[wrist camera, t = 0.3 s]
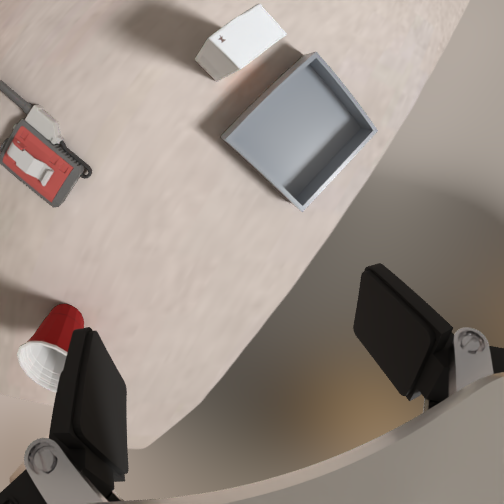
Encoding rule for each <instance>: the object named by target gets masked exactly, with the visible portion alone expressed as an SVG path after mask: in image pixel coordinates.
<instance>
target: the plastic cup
mask: <svg viewBox="0 0 504 504" xmlns="http://www.w3.org/2000/svg"><path fill="white" fill-rule="evenodd" d="M81 328H84V321H83V317H82V314H81V313H80V312H79V311H78V309H76V308H75V307H73V306H71V305H68V304H59V305H57V306H56V307H54V308H53V309H52V310H51V312H50V313H49V315H48V316H47V317H46V318H45V319H44V321H43V322H42V324H41V325H40V326H39V328H38V329H37V331H36V332H35V334H34V335H33V336H32V337H31V338H30V340H28V341H27V342H26V343H25V344H23V345H21V346H20V348H19V350H18V353H17V357H18V361H19V364H20V366H21V367H22V369H23V370H24V372H25V373H26V374H27V375H28V376H29V377H30V378H31V379H32V380H33V381H34V382H36V383H37V384H39V385H40V386H42V387H44V388H46V389H47V390H50V391H53V392H57V387H58V382H59V378H60V374H61V372H62V371H63V369H64V364H65V360H66V356H67V352H68V348H69V344H70V341H71V337H72V333H73V331H74V330H75V329H81Z"/></svg>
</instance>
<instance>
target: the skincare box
mask: <svg viewBox="0 0 504 504" xmlns="http://www.w3.org/2000/svg"><path fill="white" fill-rule="evenodd" d="M286 35H287V33H286V32H285V31H284V30H283V29H282V28H281V26H280V25H279V24H278V23H277V22H276V21H275V20H274V18H273V17H272V16H271V15H270V14H269V13H268V12H267V11H266V10H265V9H264V7H263V6H262V5H261V4H257V5H255V6H253V7H252V8H250V9H249V10H247V11H246V12H244V13H243V14H241V15H239V16H238V17H236V18H234V19H233V20H231V21H230V22H229V23H227V24H226V25H224V26H223V27H222V28H220V29H219V30H218V31H216V32H215V33H214V34H212V35H211V36H210V37H209V38H208V39H207V40H206V42H205V43H204V45H203V46H202V48H201V50H200V51H199V53H198V54H197V56H196V58H195V61H196V62H197V63H198V64H199V65H200V66H201V67H202V68H203V69H204V70H205V71H206V72H207V73H208V74H209V75H210V76H211V77H212V78H213V79H214V80H215V81H219V80H221V79H223V78H225V77H227V76H228V75H230V74H232V73H234V72H236V71H238V70H240V69H242V68H243V67H244V66H246V65H247V64H248V63H250V62H251V61H252V60H254V59H255V58H256V57H258V56H259V55H260V54H261V53H263V52H264V51H265V50H266V49H268V48H269V47H270V46H272V45H273V44H275V43H276V42H277V41H279V40H280V39H281V38H283V37H284V36H286Z"/></svg>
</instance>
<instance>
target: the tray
mask: <svg viewBox="0 0 504 504" xmlns="http://www.w3.org/2000/svg"><path fill="white" fill-rule="evenodd" d="M377 131H378V130H377V129H376V127H375V126H374V124H373V123H372V121H371V120H370V119H369V117H368V116H367V114H366V113H365V112H364V110H363V109H362V107H361V106H360V105H359V103H358V102H357V101H356V99H355V98H354V97H353V95H352V94H351V93H350V92H349V90H348V89H347V88H346V86H345V85H344V84H343V83H342V81H341V80H340V79H339V78H338V77H337V75H336V74H335V73H334V72H333V70H332V69H331V68H330V67H329V66H328V65H327V63H326V62H325V61H324V60H323V59H322V58H321V57H320V55H319V54H318V53H317V52H313V53H310V54H306V55H304V56H303V57H301V58H300V59H299V60H298V61H297V62H296V63H295V64H294V65H293V66H291V67H290V68H289V69H288V70H287V71H286V72H285V73H284V74H283V75H282V76H280V77H279V78H278V79H277V80H276V81H275V82H274V83H273V84H272V85H271V86H270V87H269V88H268V89H267V90H266V91H265V92H264V93H263V94H262V95H261V96H260V97H258V98H257V99H256V100H255V101H254V102H253V103H252V104H251V105H250V106H249V107H248V108H247V109H246V110H245V111H244V112H243V114H242V115H241V116H240V117H239V118H238V119H237V120H236V121H235V122H234V123H233V124H232V125H231V126H230V127H229V128H228V129H227V130H226V131H225V132H224V133H223V134H222V135H221V138H222V139H223V140H224V141H225V142H226V143H227V144H229V145H230V146H231V147H232V148H233V149H234V150H235V151H236V152H237V153H239V154H240V155H241V156H242V157H243V158H244V159H245V160H246V161H247V162H248V163H250V164H251V165H252V166H253V167H254V168H255V169H256V170H257V171H258V172H259V173H260V174H261V175H263V176H264V177H265V178H266V179H267V180H268V181H269V182H270V183H271V184H272V185H273V186H274V187H275V188H276V189H277V190H278V191H279V192H281V193H282V194H283V195H284V196H285V197H286V198H287V199H288V200H289V201H290V202H291V203H292V204H293V205H294V206H295V207H297V208H298V209H299V210H300V211H302V212H303V211H304V210H305V209H306V208H307V207H308V206H309V205H310V203H311V202H312V201H313V200H314V199H315V198H316V197H317V196H318V195H319V194H320V193H321V192H322V191H323V190H324V189H325V187H326V186H327V185H328V184H329V183H330V182H331V181H332V180H333V179H334V178H335V177H336V176H337V175H338V173H339V172H340V171H341V170H342V169H343V168H344V167H345V166H346V165H347V164H348V163H349V162H350V161H351V160H352V158H353V157H354V156H355V155H356V154H357V153H358V152H359V151H360V150H361V149H362V148H363V147H364V145H365V144H366V143H367V142H368V141H369V140H370V139H371V138H372V137H373V136H374V135H375V134H376V132H377Z"/></svg>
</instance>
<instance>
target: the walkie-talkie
mask: <svg viewBox="0 0 504 504" xmlns="http://www.w3.org/2000/svg"><path fill="white" fill-rule="evenodd" d="M0 90H1V91H2V92H3V93H4V94H5V95H7V96H8V97H9V98H10V99H11V100H12V101H13V102H15V103H16V104H17V105H18V106H19V107H20V108H22V109H23V112H24V113H26V114H27V117H26V118H25V119H24V118H22V119H21V120H20V121H19V123H18V124H15V125H14V126H13V132H12V134H11V136H10V138H7V139H6V140H5V141H4V142H3V144H2V145H1V148H0V151H1V152H2V153H1V155H0V164H1V165H3V166H4V167H5V168H6V169H7V170H8V171H9V172H11V173H12V174H13V175H14V176H15V177H16V178H18V179H19V180H20V181H22V182H23V183H24V184H26V186H28V187H29V188H30V189H32V191H34V192H35V193H36V194H37V195H39V196H40V197H41V198H43V200H45V201H46V202H47V203H49V205H51V206H53V207H59V206H60V205H61V204H62V203H63V202H64V201H65V199H66V197H67V196H68V194H69V193H70V191H71V190H72V188H73V187H74V185H75V184H76V182H77V181H78V179H79V178H80V177H82V178H88V177H89V176H91V174H92V169H91V168H90V166H89V165H88V164H86V163H85V162H84V161H83V160H82V159H80V158H79V157H78V156H77V155H75V154H74V153H73V152H72V151H70V150H69V149H68V148H67V147H66V145H65V143H64V141H63V139H64V138H62V137H61V133H60V129H59V124H58V121H56V120H55V119H54V118H53V117H52V116H50V115H49V114H48V113H47V112H46V111H44V110H43V107H41V106H40V105H34V106H33V105H31V104H30V103H27V102H26V101H25V100H24V99H23V98H21V97H20V96H19V95H18V94H17V93H16V92H14V91H13V90H12V89H11V88H10V87H8V86H7V85H6V84H5V83H4V82H3V81H1V80H0ZM60 144H61V145H62V146H61V145H60ZM85 168H86V169H87V170H88V172H89V173H88V175H85V174H83V172H84V170H85Z"/></svg>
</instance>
